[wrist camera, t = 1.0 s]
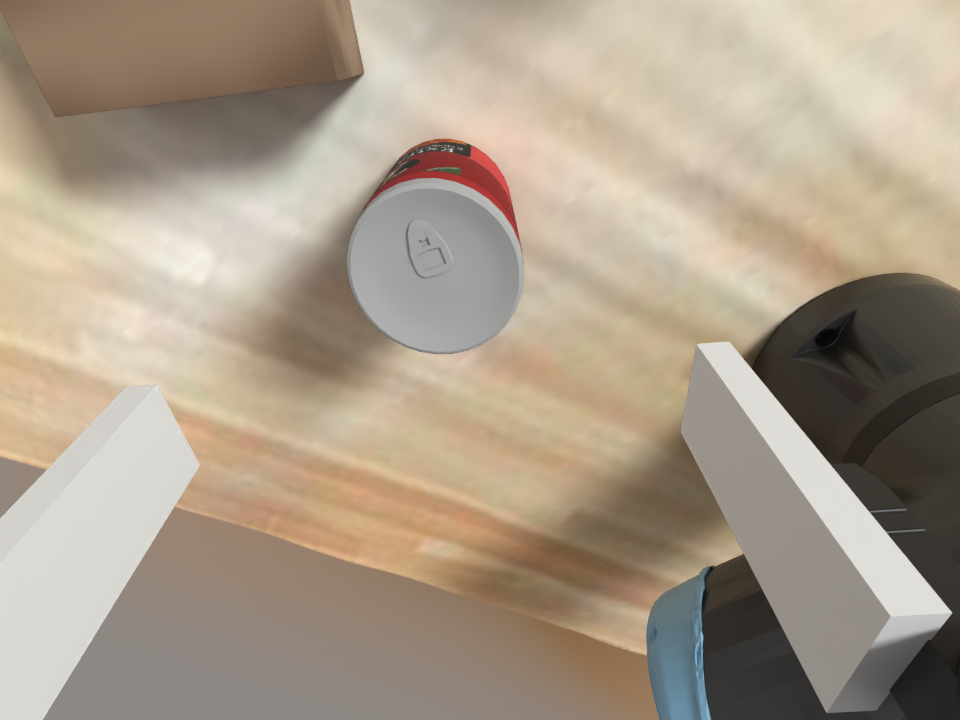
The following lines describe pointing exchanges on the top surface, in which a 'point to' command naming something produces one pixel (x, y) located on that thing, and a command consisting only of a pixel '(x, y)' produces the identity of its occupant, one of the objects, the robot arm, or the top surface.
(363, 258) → the canned food
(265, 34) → the walnut stand
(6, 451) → the top surface
